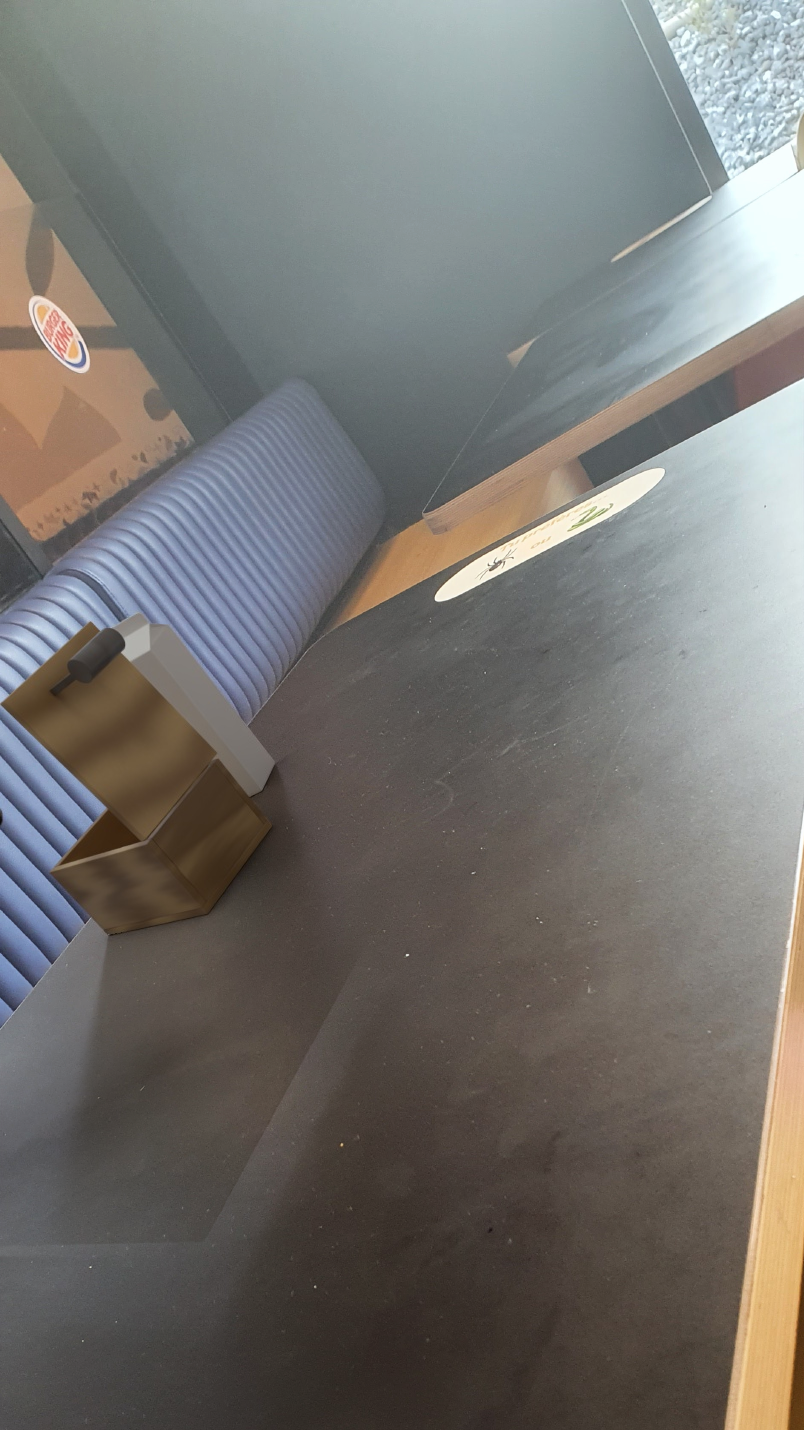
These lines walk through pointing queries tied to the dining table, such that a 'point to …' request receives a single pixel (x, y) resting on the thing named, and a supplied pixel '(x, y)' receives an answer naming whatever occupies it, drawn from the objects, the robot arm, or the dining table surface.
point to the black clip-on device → (1, 817)
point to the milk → (196, 699)
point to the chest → (165, 857)
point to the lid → (111, 728)
